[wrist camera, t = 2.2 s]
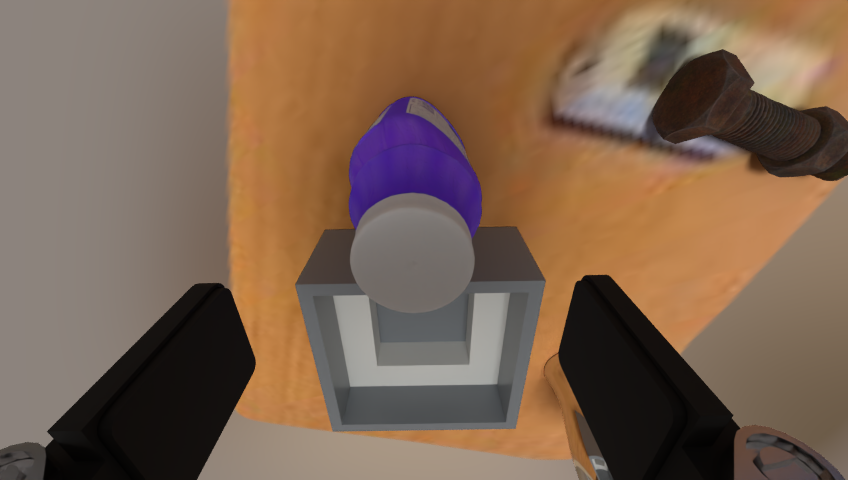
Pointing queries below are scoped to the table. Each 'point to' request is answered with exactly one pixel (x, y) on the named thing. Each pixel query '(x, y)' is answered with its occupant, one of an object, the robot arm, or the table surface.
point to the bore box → (423, 341)
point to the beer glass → (576, 427)
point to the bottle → (413, 209)
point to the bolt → (751, 120)
